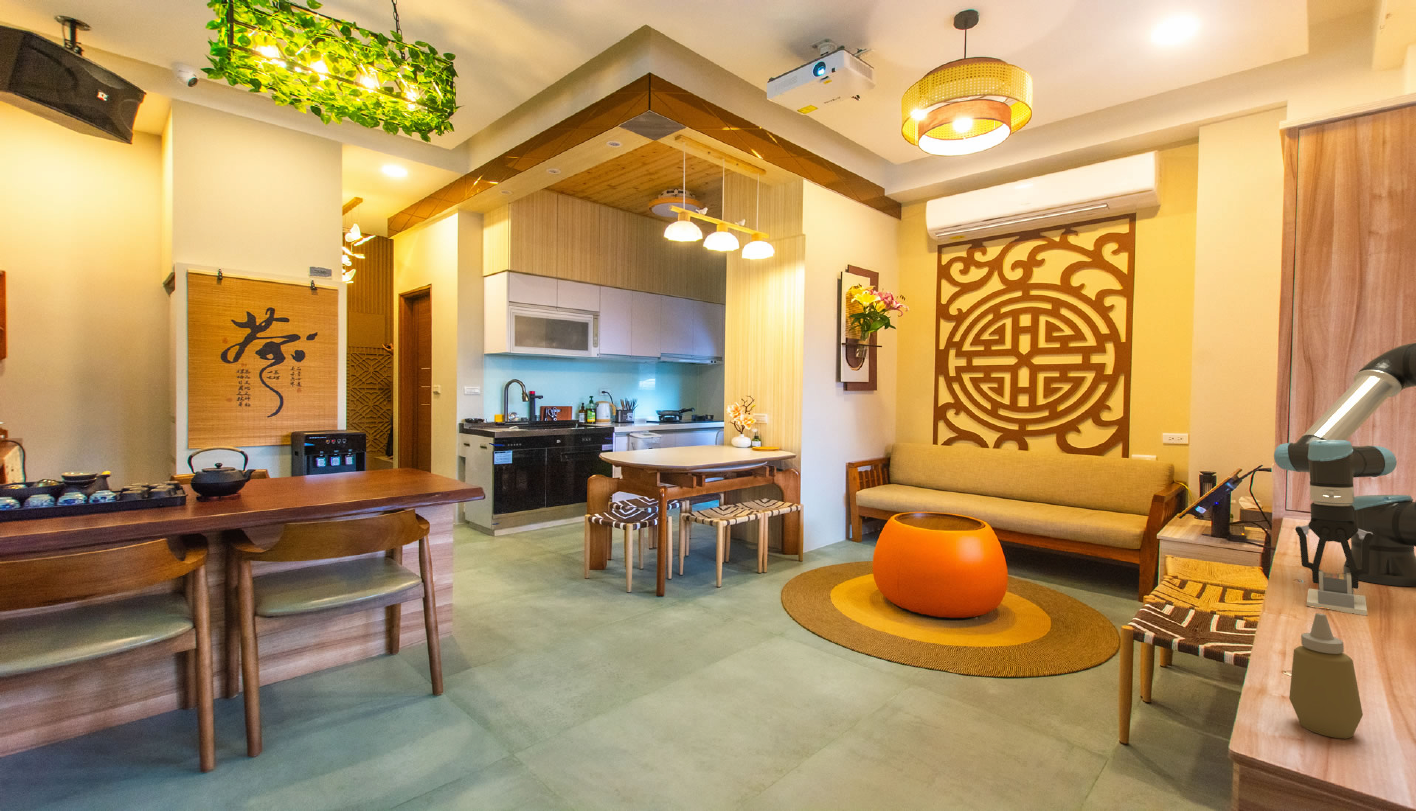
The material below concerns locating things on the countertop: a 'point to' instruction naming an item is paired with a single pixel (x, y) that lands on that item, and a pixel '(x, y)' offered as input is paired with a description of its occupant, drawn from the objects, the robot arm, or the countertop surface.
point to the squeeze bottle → (1324, 684)
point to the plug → (1335, 582)
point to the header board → (1337, 601)
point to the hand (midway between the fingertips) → (1335, 598)
